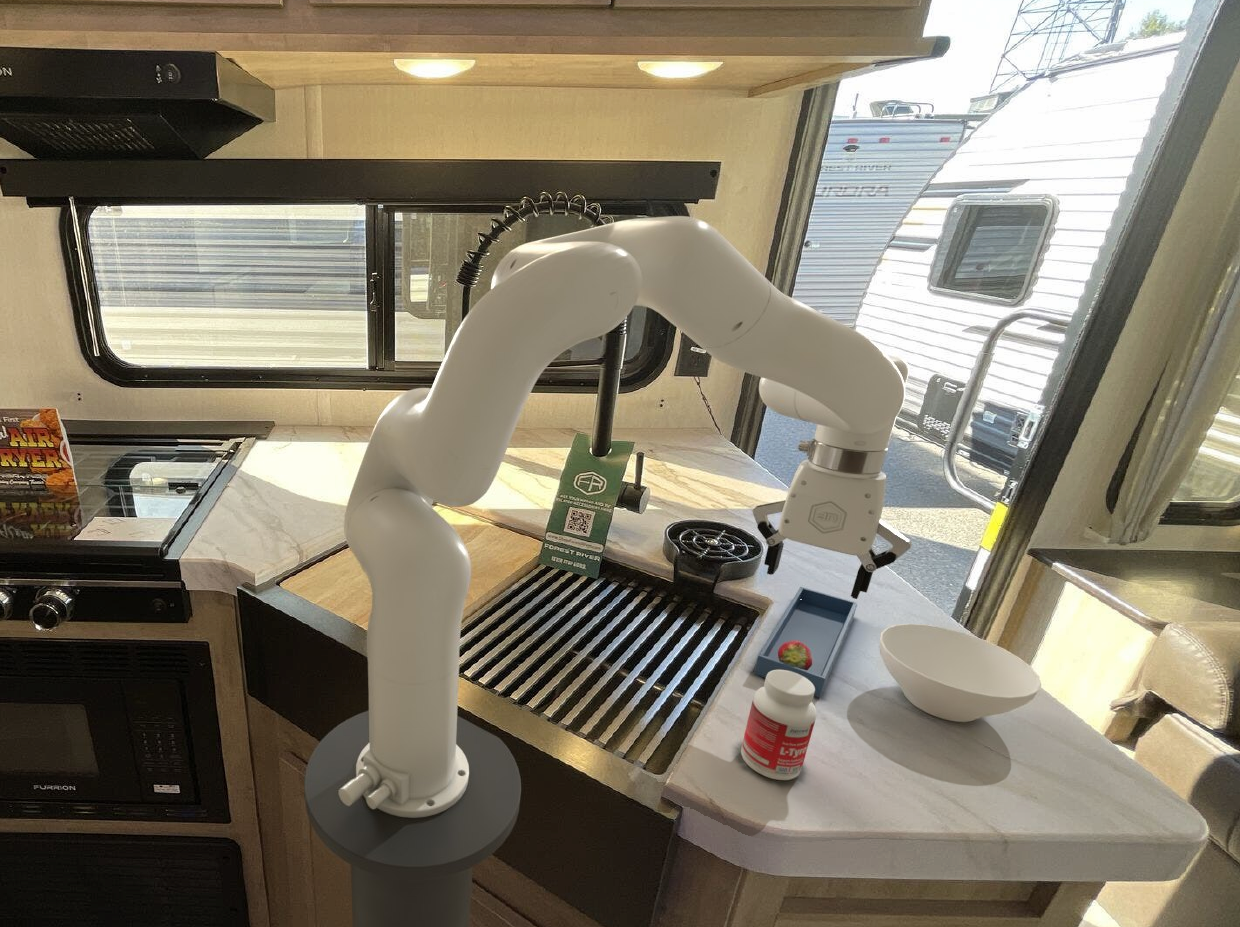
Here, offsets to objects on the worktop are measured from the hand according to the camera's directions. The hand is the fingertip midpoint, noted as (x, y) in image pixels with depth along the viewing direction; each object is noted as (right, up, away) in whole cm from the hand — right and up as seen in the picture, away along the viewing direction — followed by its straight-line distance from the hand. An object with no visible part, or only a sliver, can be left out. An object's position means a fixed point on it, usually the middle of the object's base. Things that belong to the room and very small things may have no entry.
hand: (812, 582), depth 86 cm
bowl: (+16, -16, -1) cm, 22 cm away
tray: (+6, -11, +11) cm, 17 cm away
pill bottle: (-12, -19, -11) cm, 25 cm away
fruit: (0, -13, +5) cm, 14 cm away
